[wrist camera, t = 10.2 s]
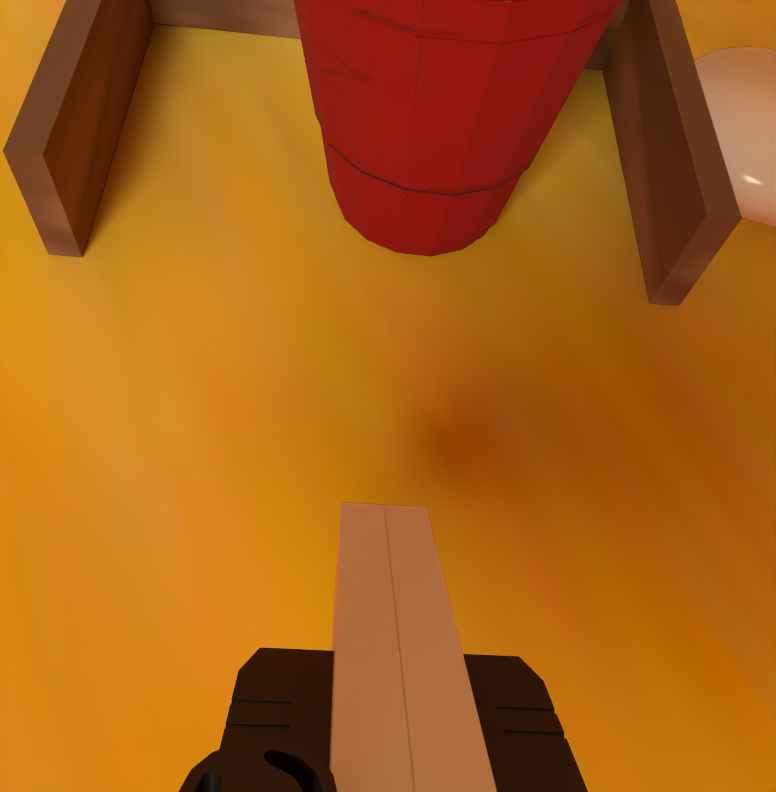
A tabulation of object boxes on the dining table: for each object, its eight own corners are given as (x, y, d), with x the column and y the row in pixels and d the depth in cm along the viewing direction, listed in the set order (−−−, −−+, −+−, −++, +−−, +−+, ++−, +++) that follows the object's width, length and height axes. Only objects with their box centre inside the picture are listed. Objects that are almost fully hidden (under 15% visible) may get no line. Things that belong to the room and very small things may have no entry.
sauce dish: (826, 101, 31) (857, 58, 29) (887, 243, 27) (927, 203, 25) (643, 81, 31) (662, 36, 29) (676, 223, 26) (702, 181, 25)
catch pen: (623, 57, 31) (663, -41, 27) (679, 305, 24) (741, 217, 21) (133, 5, 29) (110, -105, 26) (48, 254, 23) (2, 150, 19)
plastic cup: (307, 62, 29) (310, -371, 18) (580, 131, 28) (740, -275, 18) (201, 267, 23) (119, -192, 13) (540, 357, 22) (740, -44, 12)
